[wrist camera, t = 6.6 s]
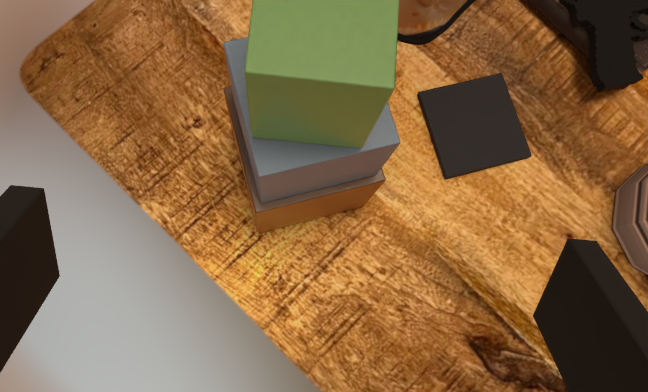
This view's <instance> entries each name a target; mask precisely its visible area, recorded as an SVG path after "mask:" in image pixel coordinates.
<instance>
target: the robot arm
mask: <svg viewBox="0 0 648 392" xmlns="http://www.w3.org/2000/svg"><path fill="white" fill-rule="evenodd" d="M59 276H60V275H59V270H58V264H57V259H56V253H55V248H54V242H53V236H52V231H51V225H50V220H49V215H48V209H47V203H46V197H45V192H44V189H43V188H34V187H23V186H13V185H11V186H10V187H9V188H8V189H7V190H6V191H5V192H4V193H3V194H2V195H1V196H0V372H1V371H2V369H3V367H4V366H5V364H6V362H7V361H8V359H9V358H10V355H11V354H12V353H13V351H14V349H15V348H16V346H17V344H18V343H19V341H20V339H21V338H22V336H23V335H24V333H25V331H26V330H27V328H28V326H29V325H30V323H31V322H32V320H33V318H34V317H35V315H36V314H37V312H38V310H39V308H40V307H41V305H42V304H43V302H44V301H45V299H46V297H47V296H48V294H49V292H50V291H51V289H52V288H53V286H54V284H55V283H56V281H57V279H58V278H59ZM533 317H534V319H535V321H536V323H537V325H538V327H539V329H540V332H541V334H542V336H543V338H544V340H545V342H546V344H547V346H548V349H549V351H550V353H551V355H552V357H553V359H554V361H555V363H556V366H557V368H558V370H559V372H560V374H561V376H562V378H563V380H564V383H565V385H566V387H567V389H568V391H569V392H648V312H647V310H646V309H645V308H644V306H643V305H642V303H641V302H640V301H639V299H638V298H637V297H636V295H635V294H634V292H633V291H632V290H631V288H630V287H629V286H628V284H627V283H626V281H625V280H624V279H623V277H622V276H621V275H620V273H619V272H618V270H617V269H616V268H615V266H614V265H613V264H612V262H611V261H610V259H609V258H608V257H607V255H606V254H605V253H604V251H603V250H602V248H601V247H600V246H599V244H598V243H597V241H589V240H578V239H568V240H567V242H566V244H565V246H564V248H563V251H562V253H561V255H560V257H559V259H558V262H557V264H556V266H555V268H554V270H553V273H552V275H551V277H550V279H549V282H548V284H547V286H546V288H545V290H544V293H543V295H542V297H541V299H540V301H539V304H538V306H537V308H536V310H535V312H534V315H533Z"/></svg>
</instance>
